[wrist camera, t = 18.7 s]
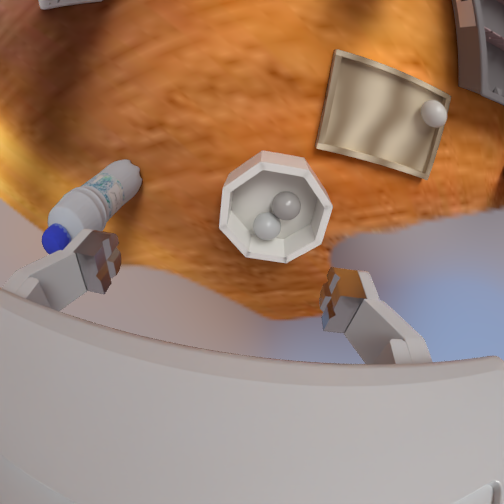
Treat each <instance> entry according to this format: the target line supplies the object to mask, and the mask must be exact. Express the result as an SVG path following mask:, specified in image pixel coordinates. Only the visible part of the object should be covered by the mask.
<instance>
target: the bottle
mask: <svg viewBox="0 0 504 504" xmlns="http://www.w3.org/2000/svg"><path fill="white" fill-rule="evenodd" d="M139 172H140V169H139V167H138V166H134V165H133V164H131V161H130V160H120V161H115V162H113V163H111V164H110V165H108V166H107V167H106V168H105V169H103V170H102V171H101V172H100V173H99V174H97V175H96V176H94V177H93V178H92V179H90V180H89V181H87V182H86V183H85V184H83V185H82V186H81V187H77V188H74V189H72V190H71V191H70V192H68V193H66V194H65V195H64V196H63V197H62V199H61V200H60V201H59V202H58V203H57V204H56V205H55V206H54V207H53V209H52V210H51V211H50V213H49V216H48V227H49V228H47V229H46V230H45V232H44V233H43V236H42V244H43V247H44V249H45V250H46V252H47V253H48V254H49V255H50V254H52V253H54V252H56V251H58V250H63V249H64V248H65V247H66V246H67V245H68V244H69V243H70V242H71V241H72V240H73V239H74V238H75V237H76V236H77V235H78V233H79V232H80V231H81V230H82V229H91V230H97V231H103V229H104V228H105V225H106V222H107V221H108V220H109V219H110V218H111V217H112V216H113V215H114V214H115V213H116V212H117V211H118V210H119V209H120V208H121V207H122V206H123V205H124V204H125V203H126V202H128V201H129V200H130V199H131V198H132V197H133V196H135V194H136V193H137V192H138V190H139V188H140V186H141V184H142V178H141V177H140V174H139Z"/></svg>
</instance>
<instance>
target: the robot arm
mask: <svg viewBox="0 0 504 504" xmlns="http://www.w3.org/2000/svg"><path fill="white" fill-rule="evenodd" d="M100 1H102V0H39V6H40V8H41V9H43V10H47V9H51V8H57V7H62V6H68V5H74V4H82V3H91V2H100ZM118 244H119V241H118V236H117V235H116V234H114V233H108V232H103V231H97V230H91V229H82V230H81V231H80V232H79V233H78V235H77V236H76V237H75V238H74V239H73V240H72V241H71V242H70V243H69V244H68V245H67V246H66V247H65V248H64V249H63V250H58V251H56V252H54V253H52V254H50V255H48V256H45V257H43V258H41V259H39V260H37V261H35V262H33V263H30V264H28V265H26V266H24V267H22V268H20V269H18V270H16V271H15V272H14V274H13V275H12V276H11V277H10V278H9V279H8V281H7V282H6V283H5V284H4V285H3V287H2V288H0V504H504V361H503V360H502V359H500V358H499V357H497V356H487V357H480V358H473V359H464V360H455V361H445V362H432V359H431V356H430V353H429V351H428V348H427V345H426V343H425V340H424V338H423V337H422V336H420V334H418V333H417V332H416V331H415V330H414V329H413V328H412V327H411V326H410V325H409V324H408V323H407V322H406V321H405V320H403V319H402V318H401V317H400V316H399V315H398V314H397V313H396V312H395V311H394V310H393V309H392V308H390V307H389V306H388V305H387V304H386V303H385V302H384V301H380V299H379V297H378V294H377V291H376V289H375V286H374V284H373V282H372V278H371V276H370V273H369V272H367V271H358V270H347V269H341V268H334V267H331V268H330V269H329V271H328V274H327V279H328V281H327V282H326V283H325V284H323V286H322V289H321V292H320V298H319V304H320V309H321V310H322V311H323V312H324V313H323V315H322V317H321V318H322V325H323V331H328V332H337V333H344V335H345V336H346V338H347V339H348V340H349V342H350V343H351V344H352V346H353V347H354V348H355V350H356V351H357V353H358V354H359V355H360V357H361V358H362V359H363V361H364V362H365V364H336V363H317V362H303V361H290V360H280V359H271V358H262V357H254V356H246V355H239V354H232V353H226V352H219V351H213V350H207V349H202V348H196V347H190V346H186V345H180V344H176V343H171V342H166V341H162V340H157V339H153V338H149V337H144V336H140V335H136V334H132V333H128V332H125V331H121V330H117V329H114V328H110V327H107V326H103V325H100V324H96V323H93V322H90V321H86V320H83V319H80V318H77V317H74V316H71V315H68V314H65V313H62V312H60V310H62V309H63V308H65V307H66V306H67V305H69V304H70V303H71V302H73V301H74V300H75V299H77V298H78V297H80V296H81V295H83V294H84V293H85V292H87V291H91V292H96V293H100V294H105V292H106V291H107V289H108V288H109V286H110V285H111V278H112V277H114V276H116V275H117V273H118V272H119V270H120V266H121V253H120V252H119V250H118V249H117V248H116V247H117V245H118Z"/></svg>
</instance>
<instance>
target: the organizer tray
mask: <svg viewBox="0 0 504 504" xmlns="http://www.w3.org/2000/svg"><path fill="white" fill-rule="evenodd" d="M452 4H453V10H454V17H455V24H456V34H457V45H458V68H459V87H461V88H464V89H467V90H470V91H472V92H475V93H478V94H480V95H482V96H483V97H486V98H488V99H490V100H493V101H495V102H497V103H499V104H502V105H504V0H452Z"/></svg>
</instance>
